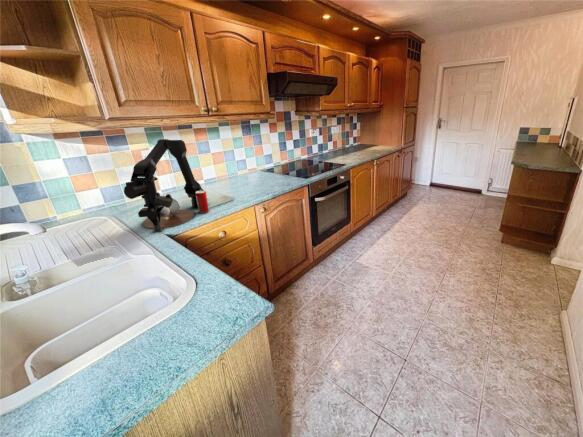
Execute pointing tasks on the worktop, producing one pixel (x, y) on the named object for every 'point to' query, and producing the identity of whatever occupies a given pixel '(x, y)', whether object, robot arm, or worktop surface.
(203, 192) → the soda can
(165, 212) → the decorative toy
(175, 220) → the turntable
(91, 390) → the worktop surface
